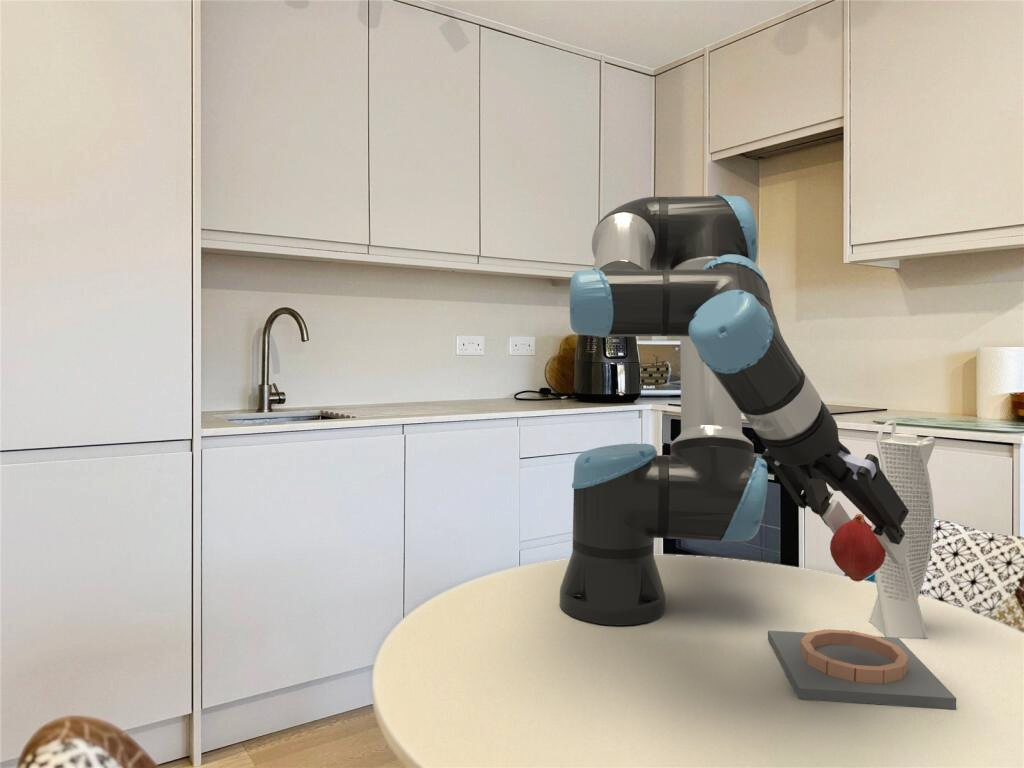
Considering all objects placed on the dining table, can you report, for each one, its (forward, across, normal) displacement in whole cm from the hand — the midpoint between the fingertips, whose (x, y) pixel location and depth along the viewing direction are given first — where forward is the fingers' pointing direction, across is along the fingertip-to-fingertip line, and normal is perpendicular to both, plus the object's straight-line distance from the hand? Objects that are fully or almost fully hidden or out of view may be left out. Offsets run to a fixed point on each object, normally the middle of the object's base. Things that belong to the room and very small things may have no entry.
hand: (876, 548), depth 89 cm
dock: (+8, 0, -12) cm, 15 cm away
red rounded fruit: (0, 0, -5) cm, 5 cm away
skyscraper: (+19, -5, -1) cm, 20 cm away
